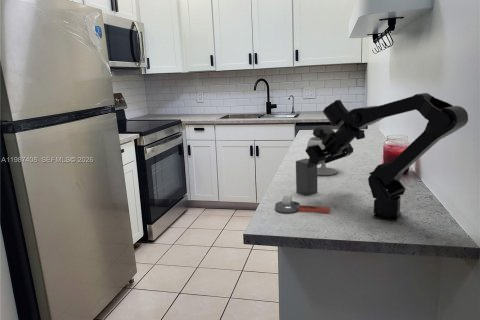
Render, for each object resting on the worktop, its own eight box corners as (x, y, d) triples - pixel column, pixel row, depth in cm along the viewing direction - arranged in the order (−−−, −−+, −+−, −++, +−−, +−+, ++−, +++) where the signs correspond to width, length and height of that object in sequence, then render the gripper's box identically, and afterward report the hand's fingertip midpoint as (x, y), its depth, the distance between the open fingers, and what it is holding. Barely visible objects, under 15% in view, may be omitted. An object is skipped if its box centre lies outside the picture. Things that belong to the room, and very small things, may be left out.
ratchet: (331, 207, 118) (331, 195, 117) (328, 216, 111) (328, 204, 110) (278, 204, 124) (278, 192, 123) (272, 212, 117) (271, 200, 116)
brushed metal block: (317, 192, 134) (317, 160, 131) (307, 195, 131) (306, 163, 128) (306, 189, 138) (305, 158, 135) (296, 192, 135) (295, 161, 132)
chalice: (305, 176, 155) (305, 141, 151) (308, 168, 168) (308, 135, 165) (340, 177, 151) (340, 141, 148) (340, 168, 164) (340, 135, 161)
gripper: (346, 115, 125) (321, 142, 137) (309, 121, 115) (285, 151, 126) (366, 140, 121) (338, 166, 132) (329, 149, 110) (302, 177, 121)
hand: (316, 164), depth 128 cm, fingers open, 9 cm apart
